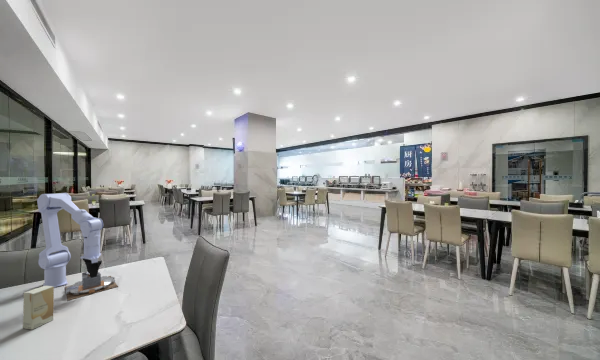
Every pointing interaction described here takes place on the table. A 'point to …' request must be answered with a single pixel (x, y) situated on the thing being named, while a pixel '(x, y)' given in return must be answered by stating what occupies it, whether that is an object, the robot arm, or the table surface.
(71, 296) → the walnut board
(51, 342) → the table surface
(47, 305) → the skincare box
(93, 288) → the sprocket
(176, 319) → the table surface
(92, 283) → the gray cube
